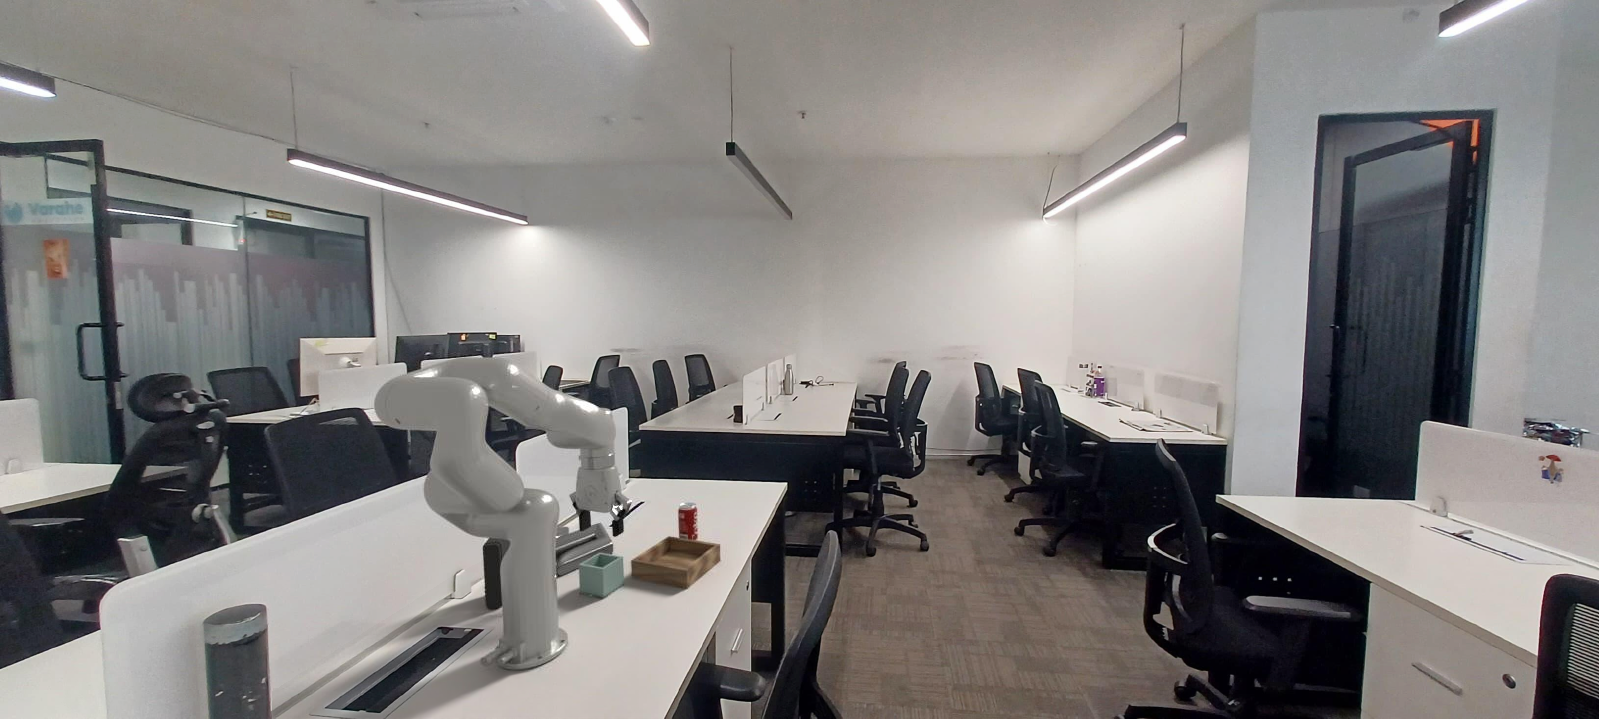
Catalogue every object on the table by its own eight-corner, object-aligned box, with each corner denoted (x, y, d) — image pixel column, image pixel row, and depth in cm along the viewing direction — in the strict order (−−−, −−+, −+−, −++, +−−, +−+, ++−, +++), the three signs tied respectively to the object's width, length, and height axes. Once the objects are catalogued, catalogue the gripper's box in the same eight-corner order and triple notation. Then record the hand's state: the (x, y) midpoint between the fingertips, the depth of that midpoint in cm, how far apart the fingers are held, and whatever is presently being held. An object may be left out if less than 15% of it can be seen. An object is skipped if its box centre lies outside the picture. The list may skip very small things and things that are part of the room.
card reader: (495, 591, 128) (492, 529, 127) (514, 588, 129) (511, 527, 128) (483, 611, 119) (479, 544, 118) (503, 608, 120) (500, 542, 119)
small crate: (603, 598, 124) (602, 569, 124) (579, 593, 127) (578, 564, 126) (624, 584, 131) (623, 556, 130) (600, 580, 133) (599, 552, 133)
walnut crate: (687, 588, 129) (686, 570, 128) (631, 577, 134) (631, 560, 134) (720, 560, 143) (720, 544, 143) (669, 552, 149) (668, 536, 149)
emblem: (537, 518, 162) (629, 518, 162) (537, 535, 163) (629, 535, 162) (480, 559, 135) (591, 558, 134) (481, 580, 135) (592, 579, 134)
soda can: (691, 541, 156) (690, 500, 156) (701, 546, 153) (700, 504, 152) (675, 546, 153) (674, 505, 152) (685, 552, 149) (684, 509, 148)
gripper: (557, 462, 126) (561, 533, 128) (617, 469, 120) (620, 543, 122) (580, 454, 133) (584, 521, 135) (638, 460, 127) (641, 530, 129)
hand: (601, 531), depth 128 cm, fingers open, 9 cm apart
